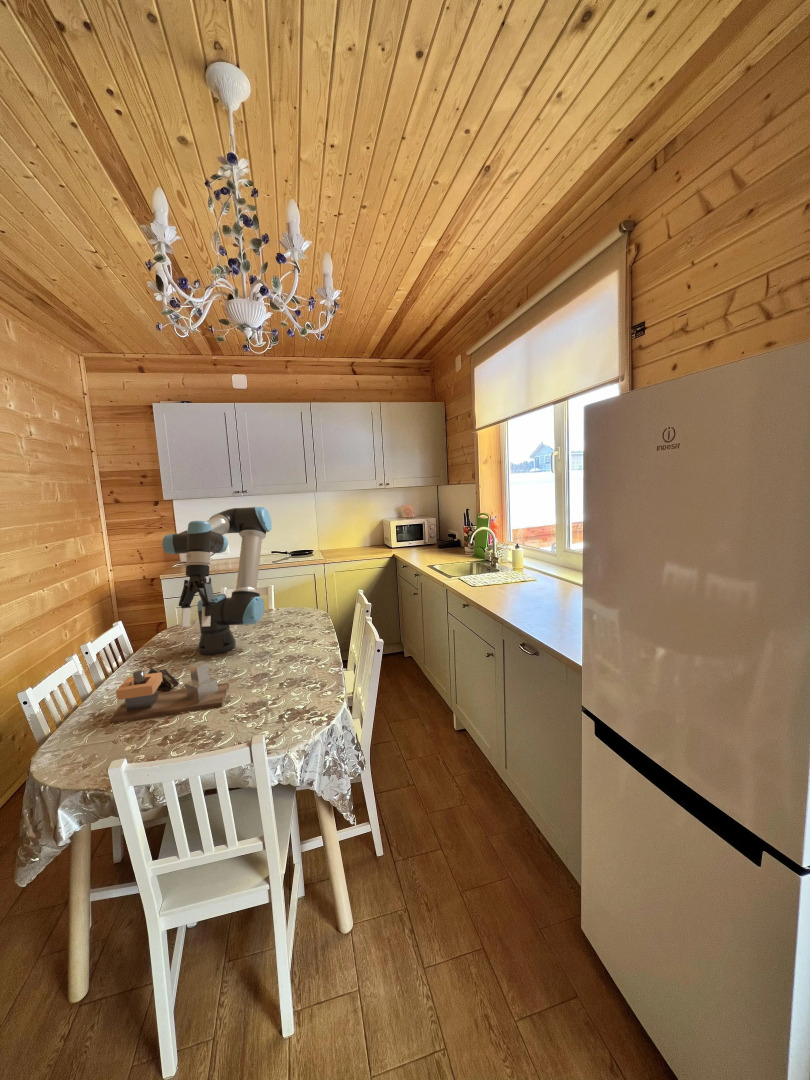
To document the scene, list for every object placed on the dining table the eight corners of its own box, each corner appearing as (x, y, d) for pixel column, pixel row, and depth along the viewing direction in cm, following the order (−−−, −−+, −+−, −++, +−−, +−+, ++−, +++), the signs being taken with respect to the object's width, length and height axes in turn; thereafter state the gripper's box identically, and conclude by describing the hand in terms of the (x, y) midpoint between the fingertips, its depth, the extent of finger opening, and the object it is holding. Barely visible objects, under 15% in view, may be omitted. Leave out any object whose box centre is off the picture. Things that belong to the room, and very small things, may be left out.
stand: (135, 700, 145) (130, 669, 143) (158, 697, 146) (153, 666, 145) (127, 711, 138) (121, 678, 136) (151, 707, 140) (146, 675, 138)
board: (128, 701, 148) (127, 697, 147) (229, 686, 154) (228, 682, 154) (110, 724, 134) (109, 719, 134) (221, 706, 141) (221, 702, 141)
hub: (186, 697, 145) (182, 666, 143) (205, 688, 151) (202, 658, 149) (199, 702, 141) (195, 670, 140) (218, 692, 147) (214, 661, 145)
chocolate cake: (188, 684, 160) (172, 658, 163) (172, 687, 153) (156, 660, 157) (171, 701, 161) (156, 674, 165) (155, 705, 154) (140, 677, 158)
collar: (129, 685, 145) (128, 676, 145) (162, 680, 147) (161, 672, 147) (117, 699, 136) (115, 690, 135) (152, 694, 138) (151, 685, 137)
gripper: (170, 567, 159) (167, 627, 155) (206, 560, 144) (203, 626, 140) (190, 568, 165) (188, 626, 161) (227, 562, 150) (225, 625, 146)
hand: (195, 626), depth 151 cm, fingers open, 13 cm apart
